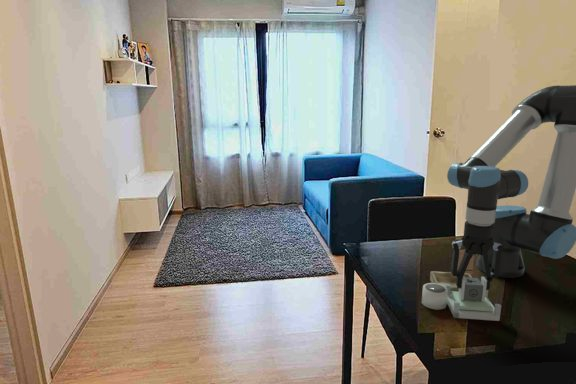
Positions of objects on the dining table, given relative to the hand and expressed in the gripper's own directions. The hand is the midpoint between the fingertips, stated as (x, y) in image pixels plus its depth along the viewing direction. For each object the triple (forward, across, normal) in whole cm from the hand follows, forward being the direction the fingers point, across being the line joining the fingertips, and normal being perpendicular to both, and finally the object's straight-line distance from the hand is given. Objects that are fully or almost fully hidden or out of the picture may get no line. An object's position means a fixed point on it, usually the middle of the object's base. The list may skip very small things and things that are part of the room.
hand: (471, 298), depth 119 cm
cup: (+3, +10, -2) cm, 11 cm away
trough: (+3, +2, -13) cm, 13 cm away
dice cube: (0, 0, -1) cm, 1 cm away
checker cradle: (+3, 0, 0) cm, 3 cm away
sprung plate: (+1, 0, 0) cm, 1 cm away
